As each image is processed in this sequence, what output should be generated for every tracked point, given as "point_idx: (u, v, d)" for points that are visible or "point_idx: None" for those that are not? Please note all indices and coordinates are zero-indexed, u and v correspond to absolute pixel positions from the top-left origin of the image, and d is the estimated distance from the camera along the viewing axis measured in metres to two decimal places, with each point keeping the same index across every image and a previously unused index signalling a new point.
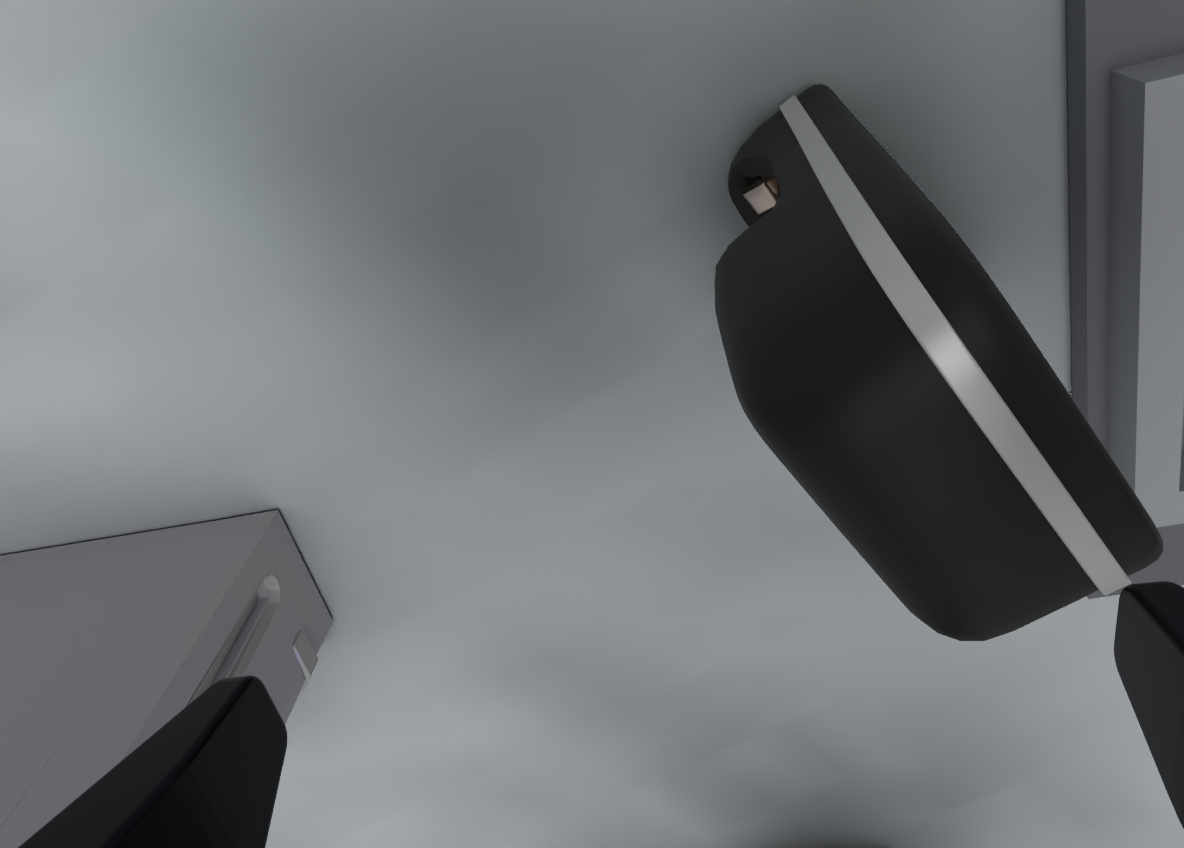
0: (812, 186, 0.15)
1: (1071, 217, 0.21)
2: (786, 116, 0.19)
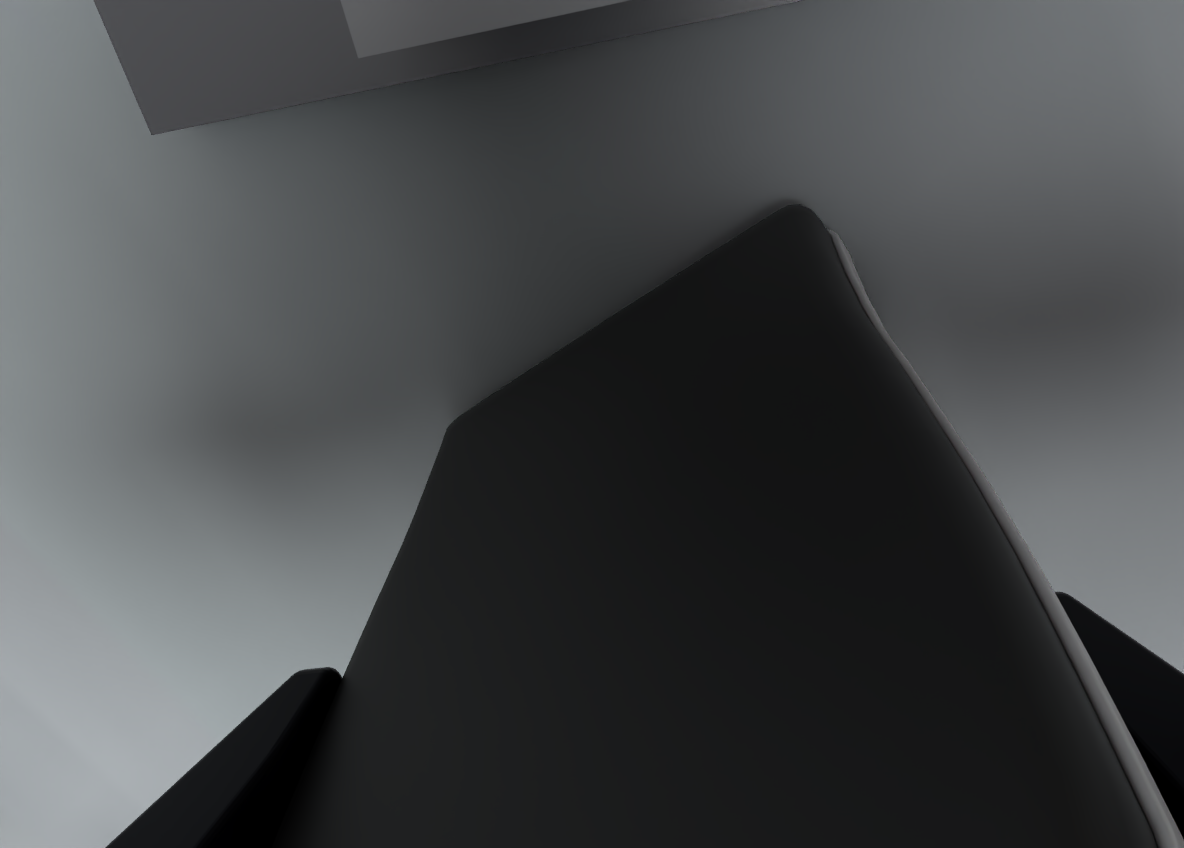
0: None
1: None
2: None
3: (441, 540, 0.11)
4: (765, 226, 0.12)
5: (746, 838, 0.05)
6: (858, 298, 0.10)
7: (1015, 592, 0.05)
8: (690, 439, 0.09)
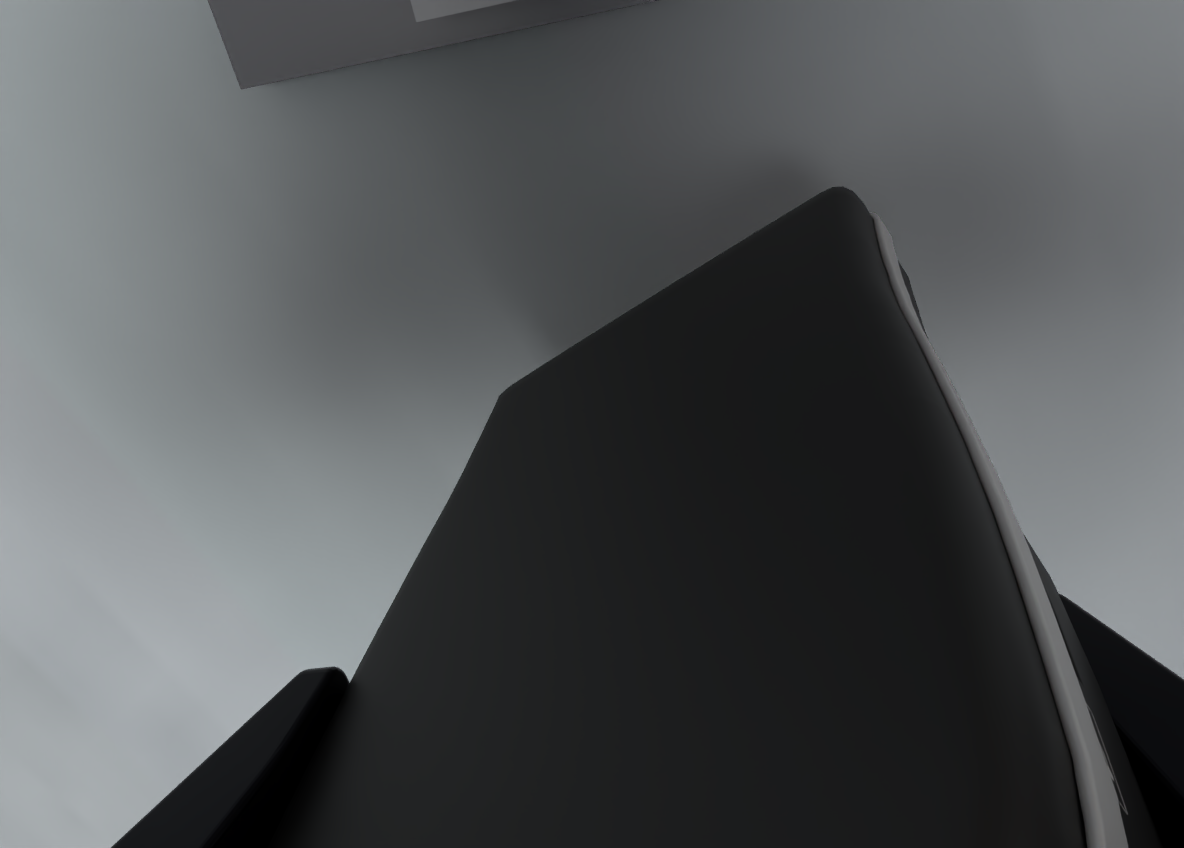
0: None
1: None
2: None
3: (483, 495, 0.11)
4: (807, 207, 0.12)
5: (708, 749, 0.05)
6: (889, 278, 0.11)
7: (974, 544, 0.06)
8: (711, 406, 0.09)
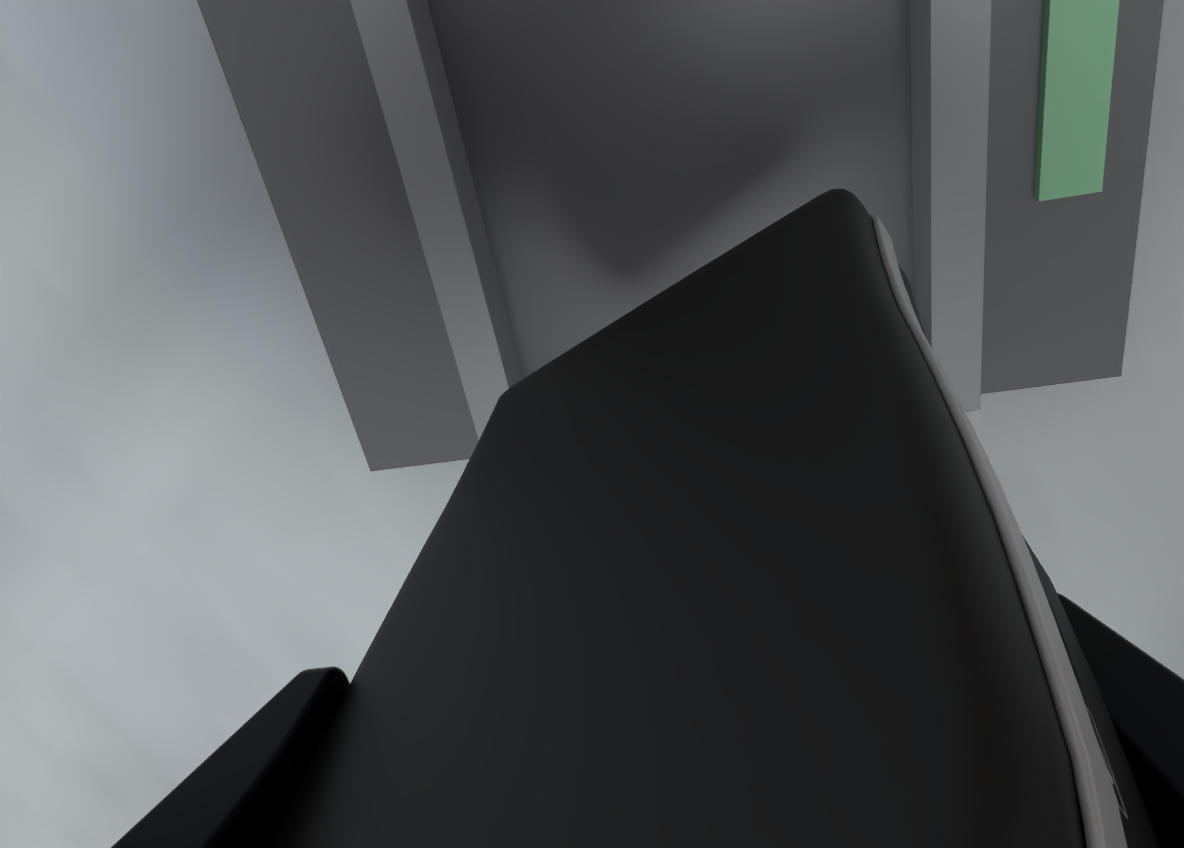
0: None
1: None
2: None
3: (483, 498, 0.11)
4: (807, 209, 0.12)
5: (706, 752, 0.05)
6: (889, 280, 0.11)
7: (974, 547, 0.06)
8: (710, 408, 0.09)
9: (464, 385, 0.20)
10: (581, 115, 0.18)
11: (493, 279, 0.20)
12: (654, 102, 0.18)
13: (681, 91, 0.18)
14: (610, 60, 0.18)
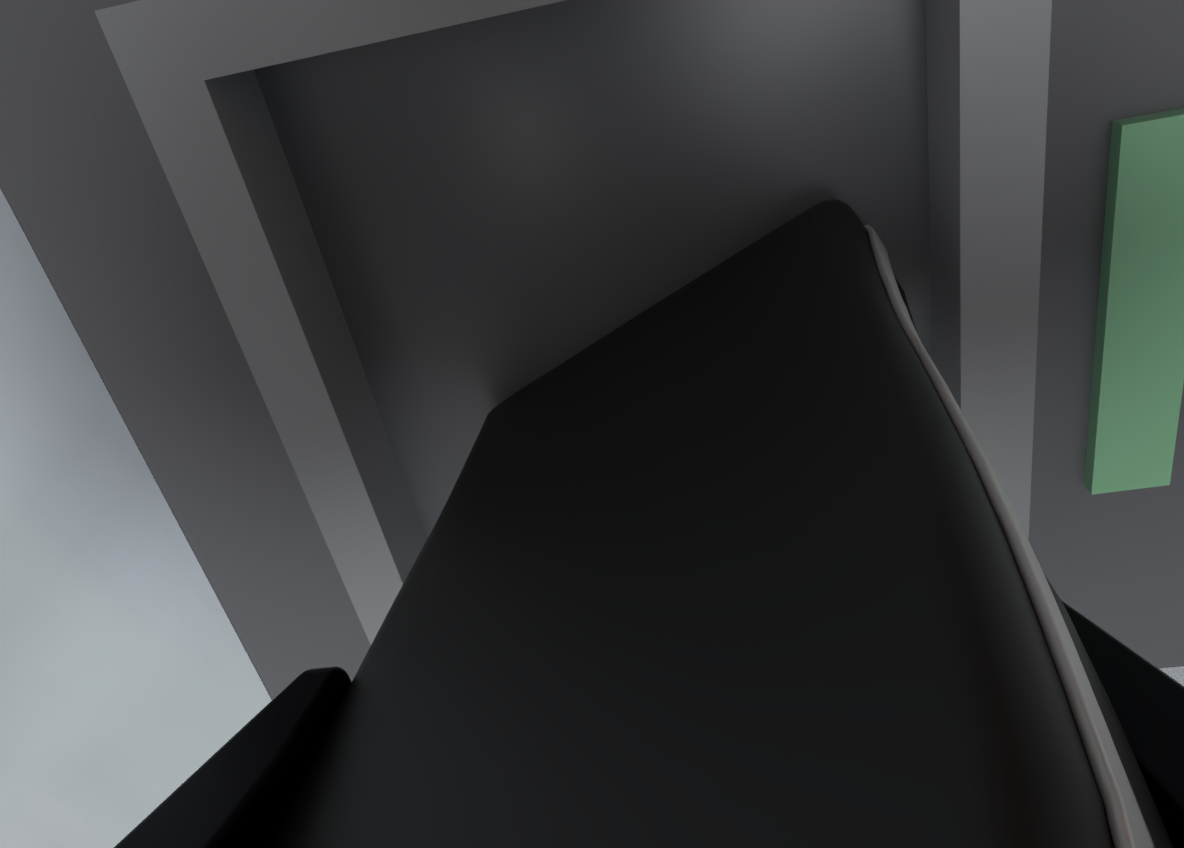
0: None
1: None
2: None
3: (472, 520, 0.11)
4: (800, 220, 0.12)
5: (713, 796, 0.05)
6: (886, 292, 0.10)
7: (991, 572, 0.05)
8: (707, 425, 0.09)
9: None
10: None
11: None
12: None
13: None
14: (558, 340, 0.14)
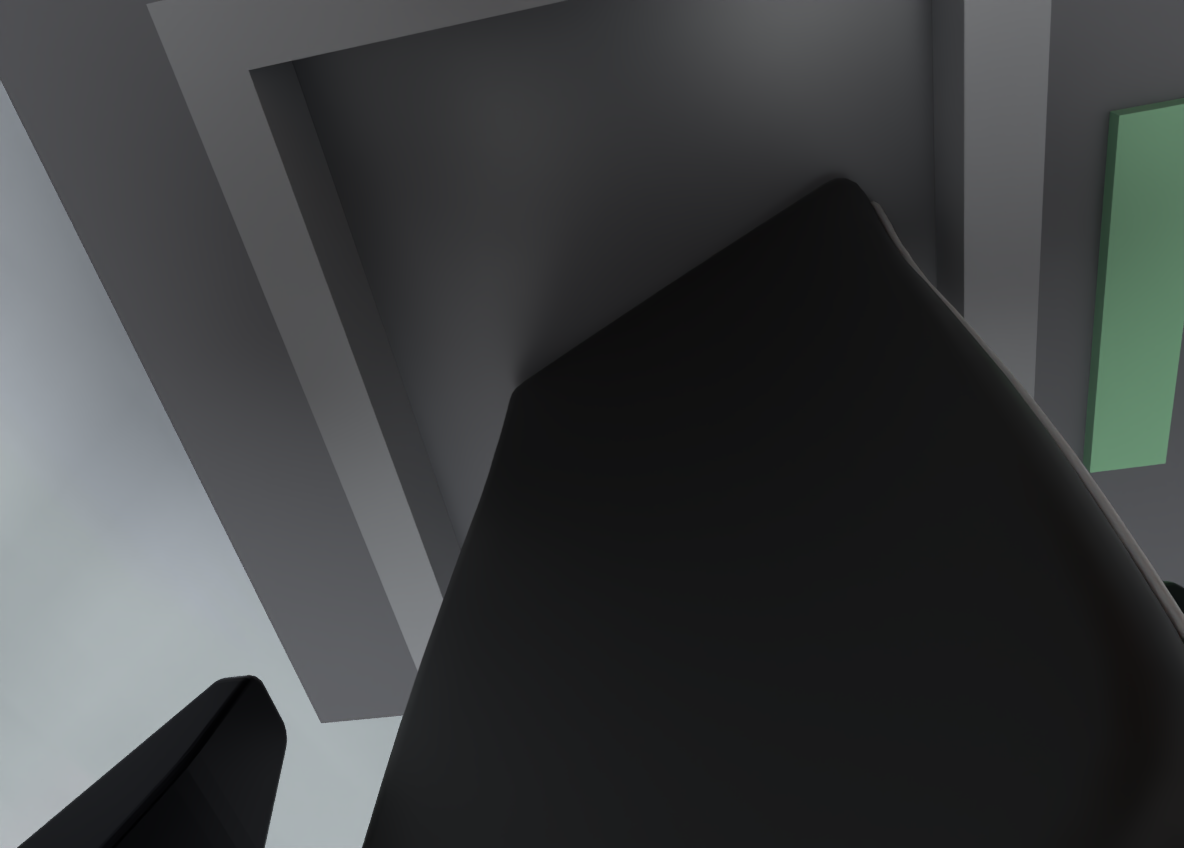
0: None
1: None
2: None
3: (524, 484, 0.12)
4: (813, 198, 0.13)
5: (846, 675, 0.06)
6: (904, 259, 0.11)
7: (1067, 475, 0.06)
8: (759, 381, 0.10)
9: (418, 666, 0.17)
10: None
11: (450, 546, 0.17)
12: None
13: None
14: (578, 322, 0.15)
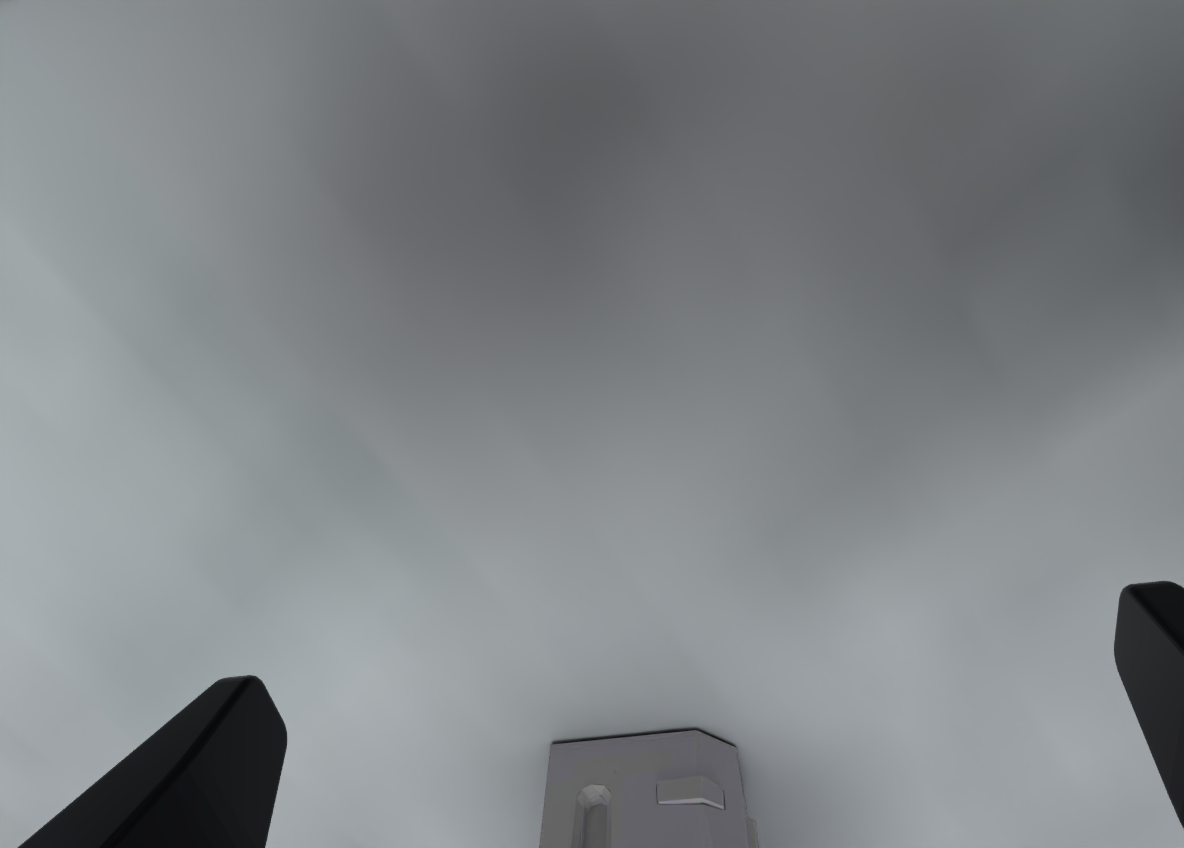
0: None
1: None
2: None
3: None
4: None
5: None
6: None
7: None
8: None
9: None
10: None
11: None
12: None
13: None
14: None
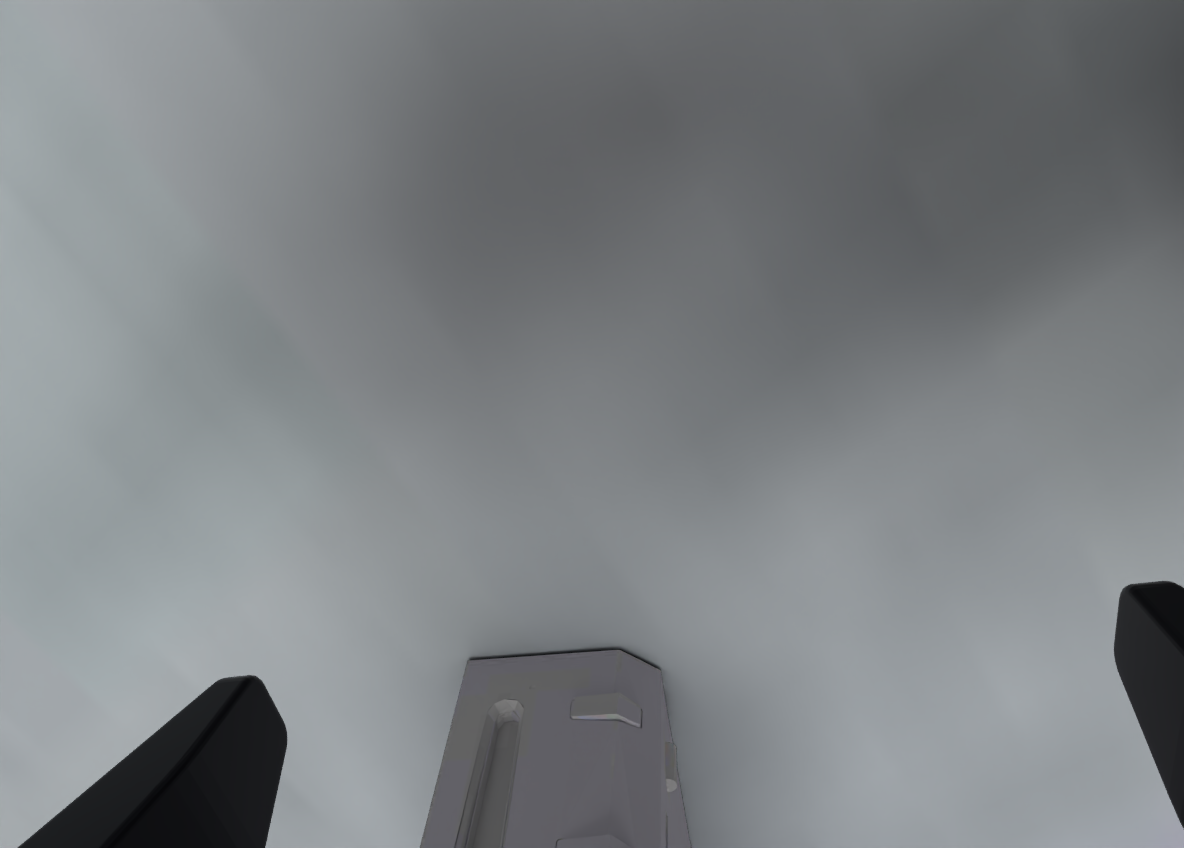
0: None
1: None
2: None
3: None
4: None
5: None
6: None
7: None
8: None
9: None
10: None
11: None
12: None
13: None
14: None
